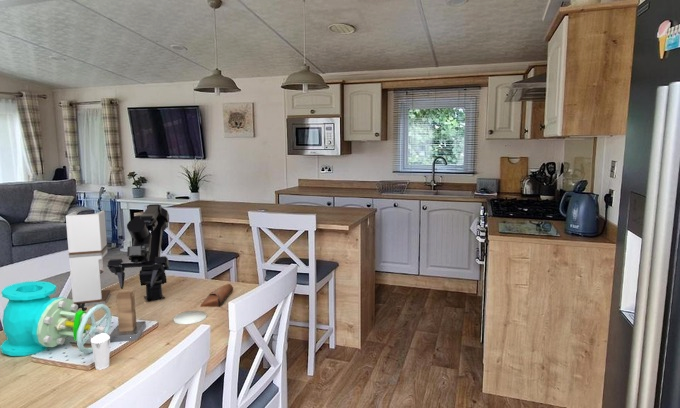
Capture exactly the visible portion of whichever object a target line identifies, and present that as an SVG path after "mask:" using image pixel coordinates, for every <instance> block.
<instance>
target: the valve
mask: <svg viewBox="0 0 680 408" xmlns="http://www.w3.org/2000/svg"><path fill="white" fill-rule="evenodd" d="M56 289H57V285H55V284H54V283H52V282H49V281H38V280H36V281H25V282H24V281H23V282H17V283H13V284H11V285H10V284H9V285H8V286H5V287H4V288H3V289H2V290H1V296H2V298H5V299H7V300H8V302H7V304H6V306H5V307H4V310H3V315H2V322H1V323H2V329H3V333H4V334H5V336H6V339H5V340H4V341H3V342H2V344H1V345H0V351H1V353H2V354H5V355H6V356H7V355H8V356H10V357H24V356H25V357H26V356H30V355H34V354H38V353H41V352H44V351H45V350H47V349H49V348H54V347H56V346H59V345H63V344H64V343H65V342H66V339H67V337H73V341H76V344H77V346H76V347H77V348H78V349H79V352H81V353H83V354H91V353H93V350H92V347H88V348H86V347H85V346H84V345H85V343H87V341H88V340H89V339H91V338H90V336H91V337H92V335H94V336H96V335H98V334H100V333H106V334H108V335H109V332H110V330H111V325H112V324H111V323H112V319H113V318H112V313H111V312H112V311H111V309H110V308H109V306H108V305H106V304H98V305H93V307H91V308H89V310H87V311H82V309H80V311H78V312H77V309H78V305H76V304H74V302H73V299H71V298H70V299H69V298H66V297H63V296H59V297H52V298H50V296H51V295H54V294H55V293H56ZM100 309H101V310H103V311H104V312H105V314H104V316H103V317H101V319H100V320H99V321H98V322H96V319H95V315H94V314H95V312H97V311H99V310H100ZM89 320H90V323H88V321H89ZM104 321H106V323H105V326H102V324H103V323H104ZM87 331H89V334H90V336H89V335H88V332H87Z"/></svg>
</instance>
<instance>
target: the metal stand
mask: <svg viewBox="0 0 680 408" xmlns="http://www.w3.org/2000/svg"><path fill="white" fill-rule="evenodd" d="M146 325H147V324H146V320H143V321H142V320H141V321H136V327H135V328H134V329H133V330H132V331H119V324H117V325H116V326H115V328H114V329H113V331H111V333H110V334H108V335H109V336H110V343H117V342H131V341H132V342H133V341H137V340H139V338H140V336H141V335H142V333H143V332H144V330H145V329H146V327H147V326H146ZM130 337H131V338H130Z"/></svg>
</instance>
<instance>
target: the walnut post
mask: <svg viewBox="0 0 680 408" xmlns="http://www.w3.org/2000/svg"><path fill="white" fill-rule="evenodd" d="M116 306H117V307H116V310H117V320H118V322H117V323H118V324H119V331H132V330H133V329H134V328H135V327H136V322H137V316H136V315H137V314H136V298H135V289H121V290H119V292H118V293H116ZM118 324H117V325H118Z"/></svg>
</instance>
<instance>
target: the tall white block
mask: <svg viewBox="0 0 680 408" xmlns="http://www.w3.org/2000/svg"><path fill="white" fill-rule="evenodd" d="M105 212H106V211H105V210H100V211H99V212H96V213H90V214H89V213H88V214H77V211H72V212H71V213H68V214H66V215H65V222H66V223H65V225H66V238H67V247H68V248H67V250H68V258H69V259H68V261H69V270H70V271H69V273H70V281H71V282H70V284H71V297H72V300H73V302H74V304H76V303H85V306H84V307H91V306H93V307H94V306H96V305H98V304H104V305H106V303H107V302H108V300H109V298H110V296H112V295H111V289H107V290H106V289H105V290H102V282H101V275H102V274H103V273H104V261H103V259H104V257H105V256H106V255H107V254H108V242H107V241H108V240H107V227H106V214H105Z"/></svg>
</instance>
